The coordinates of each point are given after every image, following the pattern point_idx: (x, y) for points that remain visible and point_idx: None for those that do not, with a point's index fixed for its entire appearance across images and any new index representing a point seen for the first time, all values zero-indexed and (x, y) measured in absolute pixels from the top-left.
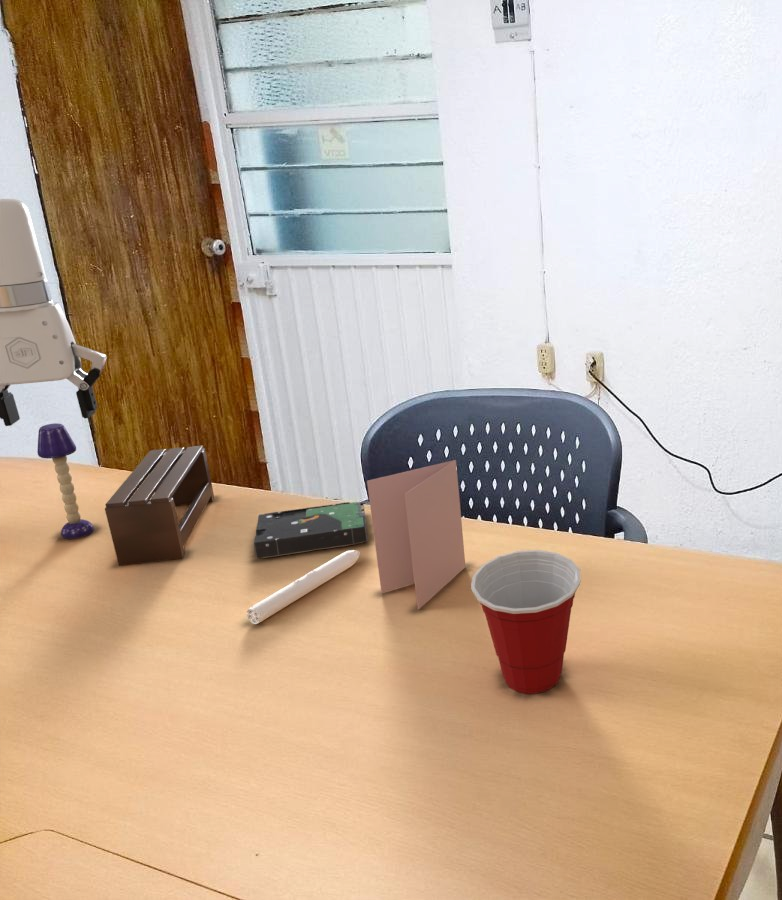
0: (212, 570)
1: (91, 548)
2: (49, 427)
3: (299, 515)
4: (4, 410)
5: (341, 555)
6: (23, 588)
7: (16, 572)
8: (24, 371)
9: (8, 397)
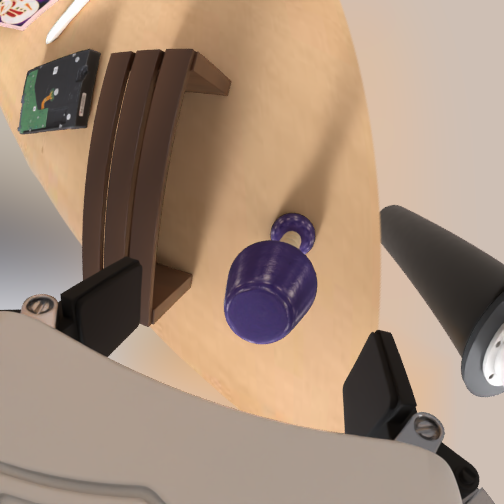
0: (138, 40)
1: (271, 161)
2: (261, 306)
3: (51, 114)
4: (391, 363)
5: (54, 26)
6: (344, 70)
7: (362, 128)
8: (195, 479)
9: (366, 430)
